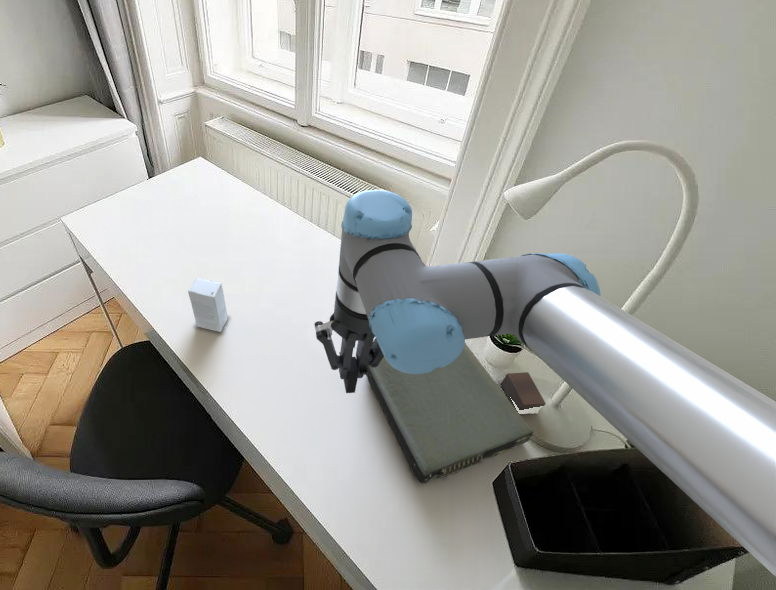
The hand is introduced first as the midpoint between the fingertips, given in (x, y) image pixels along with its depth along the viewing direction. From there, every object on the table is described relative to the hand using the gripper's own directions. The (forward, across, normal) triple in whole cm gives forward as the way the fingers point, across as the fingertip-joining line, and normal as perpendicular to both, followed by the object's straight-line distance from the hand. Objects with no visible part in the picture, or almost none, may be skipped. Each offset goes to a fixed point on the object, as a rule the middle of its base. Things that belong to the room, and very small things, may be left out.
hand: (349, 385), depth 69 cm
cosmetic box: (+9, +26, -22) cm, 35 cm away
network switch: (+10, -17, 0) cm, 20 cm away
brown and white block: (+10, -33, 0) cm, 34 cm away
